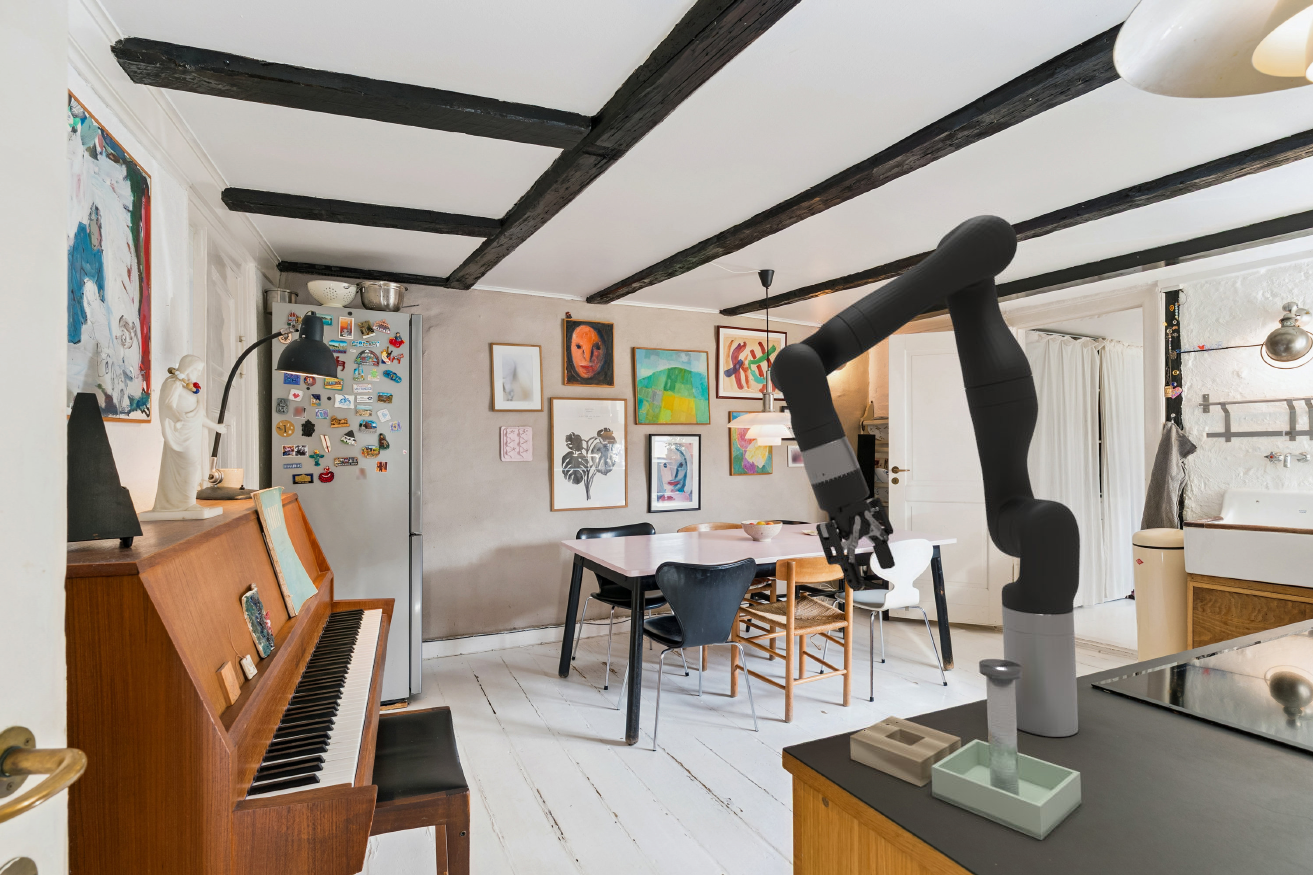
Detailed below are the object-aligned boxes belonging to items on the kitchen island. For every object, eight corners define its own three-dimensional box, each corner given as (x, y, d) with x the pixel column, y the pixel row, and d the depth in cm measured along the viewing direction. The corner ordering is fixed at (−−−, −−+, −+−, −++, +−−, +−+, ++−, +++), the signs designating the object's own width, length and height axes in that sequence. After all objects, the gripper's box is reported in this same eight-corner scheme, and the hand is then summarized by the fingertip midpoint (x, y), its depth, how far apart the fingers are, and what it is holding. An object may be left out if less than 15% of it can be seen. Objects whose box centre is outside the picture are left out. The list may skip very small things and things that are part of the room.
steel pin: (994, 780, 81) (989, 656, 81) (1032, 794, 78) (1027, 664, 78) (976, 793, 78) (972, 664, 79) (1016, 808, 75) (1011, 673, 75)
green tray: (976, 766, 86) (975, 738, 86) (1081, 802, 77) (1080, 772, 77) (932, 795, 79) (931, 766, 79) (1041, 840, 70) (1040, 806, 70)
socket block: (892, 736, 95) (891, 715, 95) (961, 760, 88) (960, 737, 88) (850, 758, 89) (850, 735, 89) (921, 786, 81) (920, 761, 81)
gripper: (826, 479, 92) (869, 593, 90) (880, 455, 101) (919, 558, 100) (786, 491, 97) (825, 597, 96) (840, 467, 107) (877, 564, 105)
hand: (873, 577), depth 98 cm, fingers open, 8 cm apart
